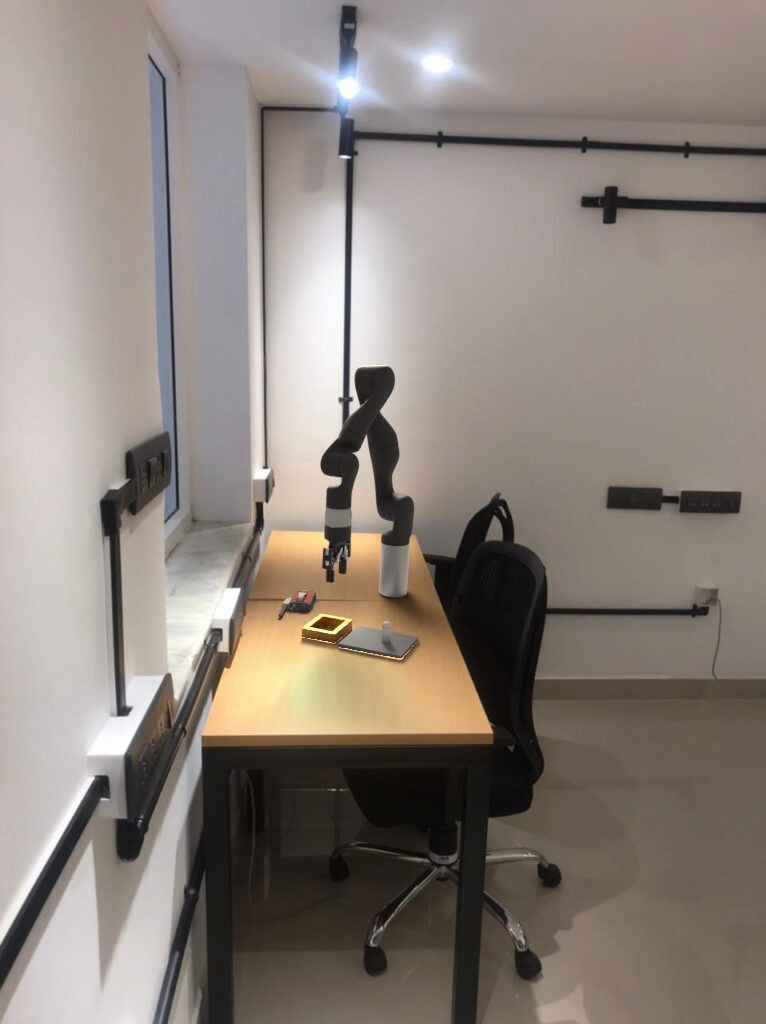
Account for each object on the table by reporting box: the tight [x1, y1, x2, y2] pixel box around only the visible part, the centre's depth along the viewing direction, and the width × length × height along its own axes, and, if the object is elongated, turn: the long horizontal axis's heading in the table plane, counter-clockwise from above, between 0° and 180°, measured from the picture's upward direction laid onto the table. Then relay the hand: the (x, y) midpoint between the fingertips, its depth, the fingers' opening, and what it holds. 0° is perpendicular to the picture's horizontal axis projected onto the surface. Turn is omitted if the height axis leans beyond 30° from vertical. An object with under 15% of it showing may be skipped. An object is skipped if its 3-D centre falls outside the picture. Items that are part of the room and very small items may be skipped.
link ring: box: [301, 613, 353, 643], centre depth 216 cm, size 12×10×3 cm
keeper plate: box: [338, 620, 419, 658], centre depth 209 cm, size 14×18×7 cm
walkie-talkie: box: [277, 589, 317, 618], centre depth 234 cm, size 9×4×20 cm
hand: (336, 577), depth 217 cm, fingers open, 8 cm apart
